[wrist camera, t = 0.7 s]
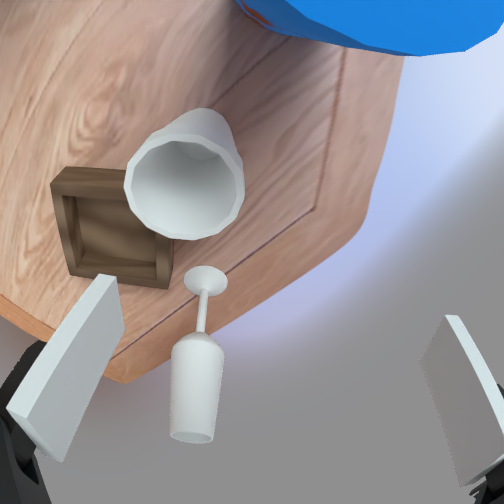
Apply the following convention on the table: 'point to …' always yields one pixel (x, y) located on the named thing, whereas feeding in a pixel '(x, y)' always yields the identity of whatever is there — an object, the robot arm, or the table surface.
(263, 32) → the table surface
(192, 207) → the foam cup
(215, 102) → the table surface
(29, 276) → the table surface
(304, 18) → the thermos
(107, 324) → the robot arm
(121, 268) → the square wooden tray
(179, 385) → the champagne flute
